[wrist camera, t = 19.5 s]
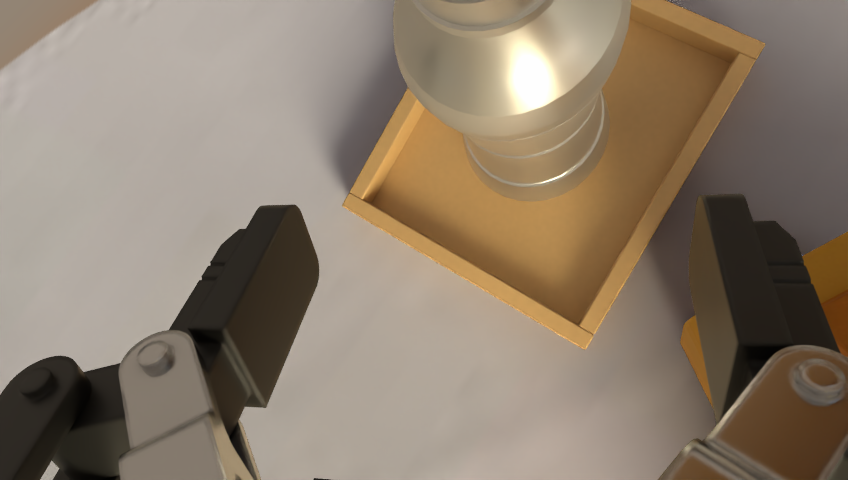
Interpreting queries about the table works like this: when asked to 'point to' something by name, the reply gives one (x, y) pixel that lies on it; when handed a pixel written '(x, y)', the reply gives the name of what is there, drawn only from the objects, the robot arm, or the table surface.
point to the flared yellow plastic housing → (835, 286)
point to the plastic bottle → (516, 83)
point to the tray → (578, 208)
